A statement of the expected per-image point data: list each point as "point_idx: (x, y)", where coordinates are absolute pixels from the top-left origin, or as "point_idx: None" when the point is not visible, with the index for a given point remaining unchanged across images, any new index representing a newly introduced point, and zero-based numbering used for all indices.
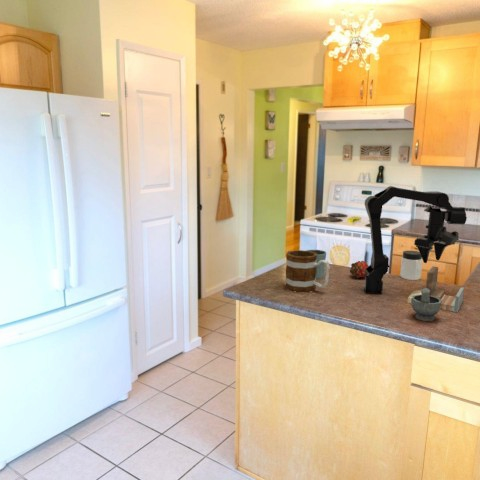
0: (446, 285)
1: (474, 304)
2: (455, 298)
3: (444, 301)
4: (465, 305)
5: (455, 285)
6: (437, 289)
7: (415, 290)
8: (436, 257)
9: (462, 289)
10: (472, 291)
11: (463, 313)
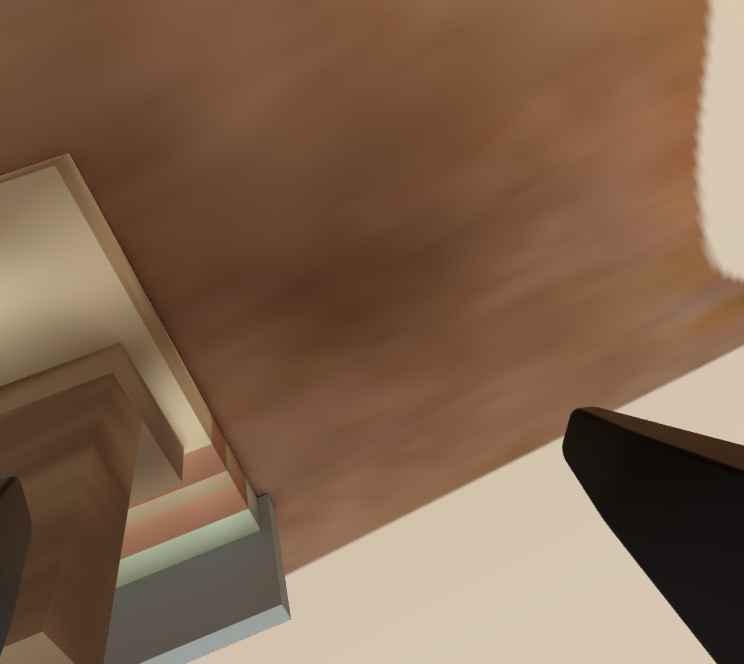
0: (655, 184)
1: (309, 558)
2: (198, 532)
3: None
4: None
5: (700, 235)
6: (146, 432)
7: (30, 183)
8: (605, 441)
9: (218, 646)
10: (610, 395)
11: None
